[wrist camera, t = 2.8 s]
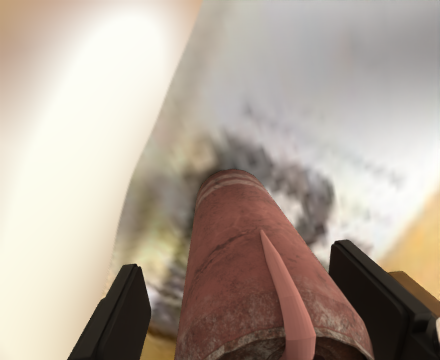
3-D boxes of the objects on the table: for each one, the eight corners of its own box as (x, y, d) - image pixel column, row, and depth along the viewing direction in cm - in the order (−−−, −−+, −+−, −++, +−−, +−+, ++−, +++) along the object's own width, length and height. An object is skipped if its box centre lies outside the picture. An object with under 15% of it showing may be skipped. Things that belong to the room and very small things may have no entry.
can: (261, 159, 18) (420, 300, 4) (266, 225, 20) (385, 457, 6) (190, 169, 18) (136, 341, 4) (202, 234, 20) (189, 488, 6)
